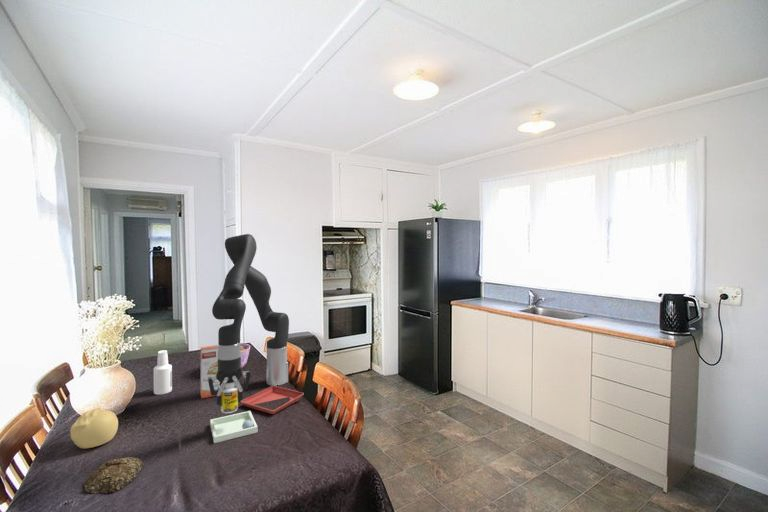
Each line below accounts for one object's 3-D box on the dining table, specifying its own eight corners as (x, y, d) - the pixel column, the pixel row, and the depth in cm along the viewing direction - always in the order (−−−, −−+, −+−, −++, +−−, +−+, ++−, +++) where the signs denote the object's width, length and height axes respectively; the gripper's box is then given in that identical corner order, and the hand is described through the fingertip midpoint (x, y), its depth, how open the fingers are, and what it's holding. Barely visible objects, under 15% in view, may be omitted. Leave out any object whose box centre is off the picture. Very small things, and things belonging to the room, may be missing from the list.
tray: (250, 417, 132) (250, 410, 132) (257, 433, 121) (257, 426, 121) (210, 426, 125) (210, 419, 125) (214, 445, 114) (214, 437, 114)
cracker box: (201, 399, 147) (201, 350, 147) (200, 394, 152) (200, 346, 152) (237, 392, 155) (237, 345, 154) (235, 387, 160) (234, 342, 159)
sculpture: (80, 437, 118) (79, 405, 117) (123, 431, 122) (122, 400, 122) (63, 456, 107) (62, 421, 107) (110, 449, 111) (110, 415, 111)
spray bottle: (175, 388, 158) (175, 349, 157) (164, 395, 151) (164, 353, 150) (161, 388, 158) (161, 348, 158) (149, 394, 152) (149, 353, 151)
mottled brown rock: (150, 465, 104) (150, 448, 104) (120, 495, 91) (120, 476, 91) (106, 465, 103) (106, 449, 103) (70, 495, 91) (69, 476, 91)
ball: (251, 427, 124) (251, 417, 124) (253, 431, 121) (253, 421, 121) (241, 429, 122) (241, 419, 122) (243, 434, 119) (243, 424, 119)
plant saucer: (239, 408, 140) (239, 400, 140) (273, 392, 156) (273, 384, 156) (273, 419, 132) (273, 410, 132) (304, 400, 148) (304, 393, 148)
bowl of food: (198, 374, 175) (198, 351, 175) (227, 362, 194) (227, 341, 194) (232, 379, 169) (232, 355, 169) (258, 366, 188) (258, 344, 188)
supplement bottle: (222, 415, 119) (222, 386, 119) (219, 409, 124) (219, 380, 124) (239, 411, 122) (239, 382, 122) (236, 405, 127) (236, 377, 127)
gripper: (249, 350, 130) (249, 395, 130) (205, 356, 122) (205, 403, 123) (253, 355, 123) (253, 403, 124) (207, 362, 116) (207, 412, 116)
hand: (229, 403), depth 123 cm, fingers closed on supplement bottle, 5 cm apart
